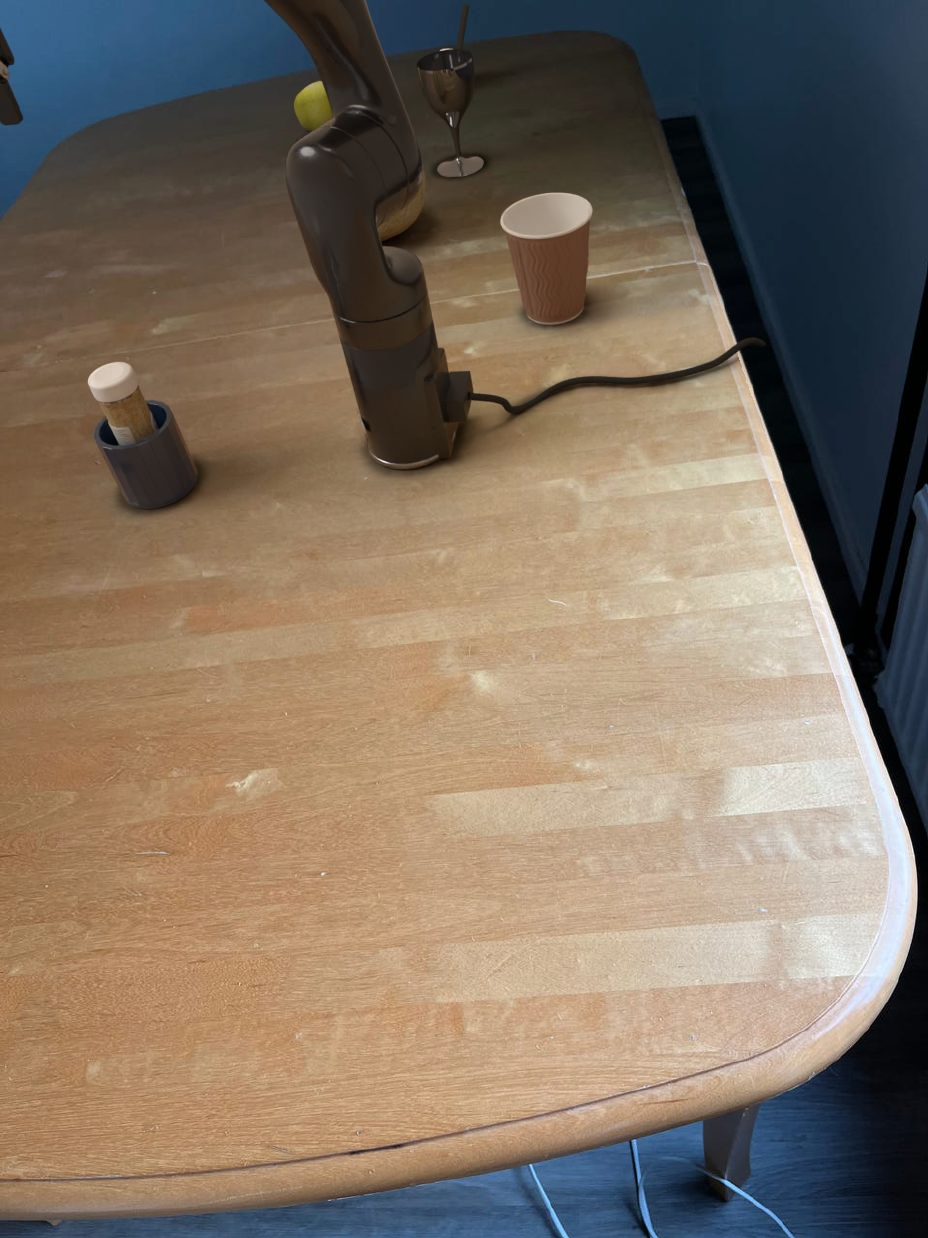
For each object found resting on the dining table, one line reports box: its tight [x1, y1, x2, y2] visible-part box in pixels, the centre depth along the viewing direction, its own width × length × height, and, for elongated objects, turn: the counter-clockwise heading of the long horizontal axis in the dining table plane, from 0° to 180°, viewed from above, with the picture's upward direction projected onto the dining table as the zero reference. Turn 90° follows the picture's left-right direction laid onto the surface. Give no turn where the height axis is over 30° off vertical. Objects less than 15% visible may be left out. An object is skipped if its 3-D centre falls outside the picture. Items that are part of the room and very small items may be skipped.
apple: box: [293, 80, 333, 133], centre depth 167 cm, size 8×9×8 cm
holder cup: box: [93, 399, 199, 510], centre depth 108 cm, size 8×8×8 cm
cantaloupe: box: [378, 165, 427, 242], centre depth 137 cm, size 15×15×15 cm
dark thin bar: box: [439, 1, 470, 51], centre depth 171 cm, size 10×6×12 cm, turn 98°
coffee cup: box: [499, 192, 593, 326], centre depth 118 cm, size 10×10×12 cm
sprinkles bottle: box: [87, 361, 159, 446], centre depth 105 cm, size 5×5×13 cm
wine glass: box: [416, 48, 485, 178], centre depth 149 cm, size 8×8×15 cm
